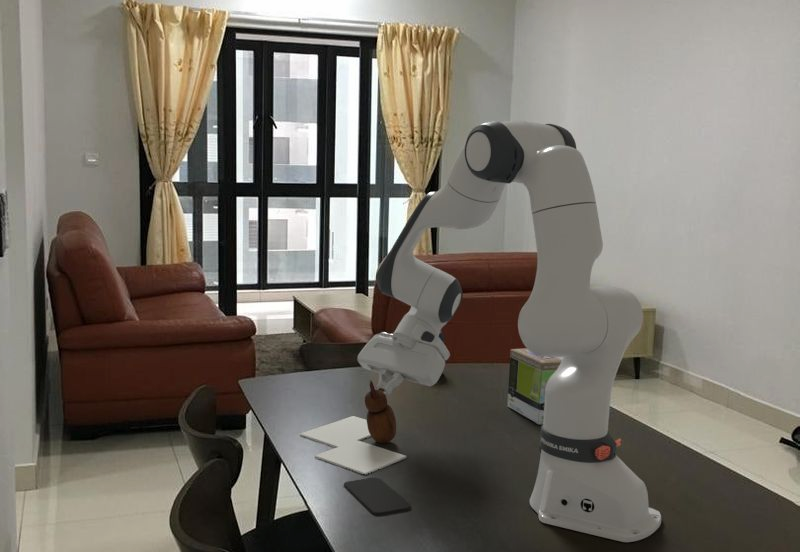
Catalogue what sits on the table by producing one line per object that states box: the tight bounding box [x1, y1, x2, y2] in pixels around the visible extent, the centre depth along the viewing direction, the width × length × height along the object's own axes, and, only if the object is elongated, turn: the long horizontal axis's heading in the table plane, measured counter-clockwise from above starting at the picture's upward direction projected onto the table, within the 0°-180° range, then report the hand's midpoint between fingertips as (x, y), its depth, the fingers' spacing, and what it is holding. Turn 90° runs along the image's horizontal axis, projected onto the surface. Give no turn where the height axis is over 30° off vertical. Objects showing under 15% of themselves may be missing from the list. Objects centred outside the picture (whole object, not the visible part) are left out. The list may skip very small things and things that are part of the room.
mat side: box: [314, 440, 407, 476], centre depth 171 cm, size 14×12×1 cm
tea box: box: [507, 347, 563, 425], centre depth 201 cm, size 15×10×15 cm, turn 22°
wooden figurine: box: [364, 379, 397, 444], centre depth 178 cm, size 7×6×15 cm
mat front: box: [299, 415, 372, 448], centre depth 186 cm, size 12×17×1 cm
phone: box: [343, 477, 412, 517], centre depth 152 cm, size 7×1×15 cm
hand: (382, 391), depth 178 cm, fingers closed, pressing on wooden figurine
